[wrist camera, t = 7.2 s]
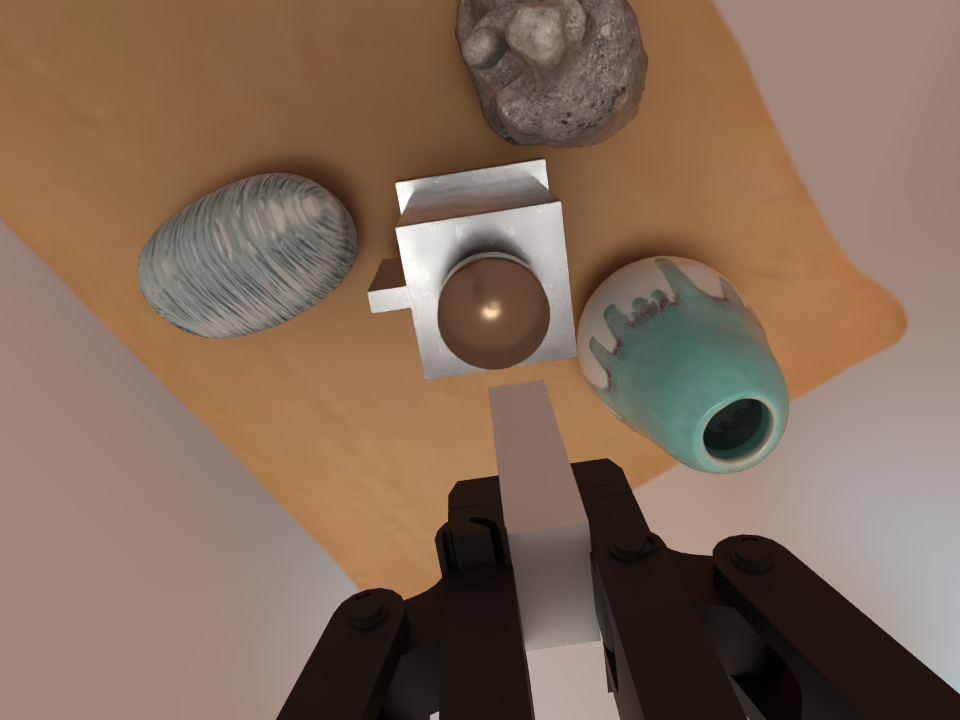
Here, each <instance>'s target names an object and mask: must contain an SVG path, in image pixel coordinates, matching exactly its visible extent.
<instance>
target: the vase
mask: <svg viewBox="0 0 960 720" xmlns="http://www.w3.org/2000/svg"><path fill="white" fill-rule="evenodd" d="M577 355H578V361H579V365H580V369H581V371H582V374H583V377H584V379H585V381H586V383H587V385H588V387H589V388H590V390H591V391H592V393H593V394H594V395H595V397H596V398H597V399H598V401H599V402H600V403H601V404H602V405H603V406H604V407H605V408H606V409H607V410H608V411H609V412H610V413H611V414H612V415H613V416H614V417H615V418H616V419H618V420H619V421H620V422H621V423H623V424H624V425H626V426H627V427H629V428H630V429H632V430H633V431H635V432H636V433H638V434H640V435H641V436H643V437H645V438H647V439H649V440H650V441H651V442H653V443H654V444H655V445H657V446H658V447H659V448H661V449H662V450H663V451H664V452H666V453H667V454H668V455H670V456H671V457H673V458H674V459H676V460H677V461H679V462H680V463H682V464H684V465H686V466H688V467H690V468H692V469H695V470H698V471H701V472H705V473H711V474H732V473H737V472H741V471H744V470H747V469H749V468H751V467H753V466H755V465H757V464H758V463H760V462H761V461H762V460H763V459H765V458H766V457H767V456H768V455H769V454H770V453H771V452H772V451H773V450H774V449H775V447H776V446H777V444H778V443H779V441H780V439H781V437H782V435H783V433H784V431H785V428H786V424H787V421H788V415H789V394H788V389H787V385H786V382H785V378H784V375H783V373H782V370H781V368H780V366H779V364H778V362H777V360H776V358H775V357H774V355H773V353H772V351H771V349H770V346H769V344H768V341H767V338H766V334H765V332H764V329H763V327H762V325H761V323H760V321H759V319H758V317H757V315H756V313H755V311H754V310H753V308H752V306H751V305H750V303H749V302H748V301H747V299H746V298H745V296H744V295H743V294H742V293H741V291H740V290H739V289H738V288H737V287H736V286H735V285H734V284H733V283H732V282H731V281H730V280H729V279H728V278H727V277H726V276H724V275H723V274H722V273H720V272H719V271H717V270H715V269H714V268H712V267H710V266H708V265H706V264H704V263H702V262H699V261H696V260H693V259H689V258H684V257H678V256H654V257H649V258H644V259H641V260H637V261H635V262H632V263H630V264H628V265H626V266H624V267H622V268H620V269H618V270H617V271H615V272H614V273H612V274H611V275H610V276H608V277H607V278H606V279H605V280H604V281H603V282H602V283H601V284H600V285H599V286H598V287H597V288H596V290H595V291H594V292H593V294H592V295H591V296H590V298H589V300H588V301H587V303H586V305H585V307H584V309H583V312H582V314H581V317H580V321H579V325H578V331H577Z"/></svg>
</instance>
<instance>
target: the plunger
mask: <svg viewBox="0 0 960 720" xmlns="http://www.w3.org/2000/svg"><path fill="white" fill-rule="evenodd" d="M437 322H438V328H439V332H440V334H441V337H442V339H443V341H444V343H445V345H446V346H447V347H448V349H449V350H450V351H451V352H452V353H453V354H454V355H455V356H456V357H457V358H459V359H460V360H462V361H463V362H465V363H467V364H469V365H471V366H474V367H477V368H481V369H491V370H496V369H504V368H508V367H511V366H514V365H517V364H519V363H521V362H523V361H524V360H526V359H527V358H529V357H530V356H531V355H532V354H533V353H534V352H535V351H536V350H537V349H538V348H539V346H540V345H541V344H542V342H543V340H544V338H545V336H546V334H547V331H548V328H549V323H550V306H549V301H548V298H547V295H546V293H545V291H544V288H543V286H542V284H541V282H540V280H539V278H538V276H537V275H536V274H535V272H534V271H533V270H532V269H531V268H530V266H528V265H527V264H526V263H525V262H523V261H522V260H520V259H519V258H517V257H514V256H512V255H509V254H506V253H500V252H484V253H479V254H476V255H473V256H470V257H468V258H466V259H464V260H463V261H461V262H460V263H458V264H457V265H456V266H455V267H454V268H453V269H452V270H451V271H450V272H449V274H448V275H447V277H446V278H445V280H444V282H443V284H442V286H441V289H440V293H439V299H438V310H437Z"/></svg>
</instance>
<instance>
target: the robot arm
mask: <svg viewBox="0 0 960 720" xmlns="http://www.w3.org/2000/svg"><path fill="white" fill-rule="evenodd" d="M488 389H489V397H490V406H491V414H492V423H493V431H494V439H495V448H496V456H497V465H498V473H499V475H498V476H491V477H485V478H478V479H471V480H464V481H457V483H456V484H455V486H454V487H453V489H452V490H451V492H450V493H449V495H448V510H449V511H448V522H446V523H445V524H444V525H443V526H442V527H441V528H440V529H439V530H438V531H437V534H436V537H435V543H436V548H437V553H438V558H439V563H440V568H441V573H442V578H441V579H440V580H439V582H438V583H437V584H436V585H434V586H433V587H431V588H430V589H429V590H427V591H425V592H423V593H421V594H419V595H417V596H414V597H412V598H409V599H406V600H404V601H403V599H402V597H401V596H400V595H399V594H397V593H396V592H394V591H393V590H388V589H383V588H377V589H368V590H365V591H362V592H359V593H357V594H354V595H352V596H351V597H350V598H348V599H347V600H345V601H344V602H342V603H341V605H340V606H339V607H338V608H337V610H336V611H335V612H334V614H333V615H332V617H331V619H330V621H329V623H328V625H327V626H326V628H325V630H324V632H323V634H322V636H321V638H320V639H319V641H318V643H317V645H316V647H315V649H314V650H313V652H312V654H311V656H310V658H309V660H308V661H307V663H306V665H305V667H304V669H303V671H302V673H301V674H300V676H299V678H298V680H297V682H296V684H295V686H294V687H293V689H292V691H291V693H290V695H289V696H288V698H287V700H286V702H285V704H284V706H283V708H282V710H281V711H280V713H279V715H278V717H277V719H276V720H430V715H431V714H434V713H436V712H438V711H439V720H535V715H534V707H533V700H532V692H531V685H530V678H529V671H528V664H527V657H526V651H529V650H535V649H542V648H550V647H557V646H564V645H572V644H579V643H585V642H593V641H600V640H601V639H600V631H601V635H602V638H603V645H604V655H605V665H606V675H607V685H608V692H613V693H614V697H615V701H616V705H617V708H618V712H619V716H620V720H748V719H749V720H960V694H959V693H958V692H956V691H955V690H954V689H953V688H952V687H951V686H949V685H948V684H947V683H946V682H945V681H943V680H942V679H941V678H940V677H938V675H936V674H935V673H934V672H933V671H932V670H930V669H929V668H928V667H927V666H926V665H924V664H923V663H922V662H921V661H920V660H918V659H917V658H916V657H915V656H913V655H912V654H911V653H910V652H909V651H908V650H907V649H905V648H904V647H903V646H902V645H901V644H899V643H898V642H897V641H896V640H895V639H893V638H892V637H891V636H890V635H889V634H887V633H886V632H885V631H884V630H883V629H882V628H880V627H879V626H878V625H877V624H876V623H874V622H873V621H872V620H871V619H870V618H868V617H867V616H866V615H865V614H864V613H862V612H861V611H860V610H859V609H858V608H856V607H855V606H854V605H853V604H852V603H850V602H849V601H848V600H847V599H846V598H845V597H843V596H842V595H841V594H840V593H839V592H837V591H836V590H835V589H834V588H833V587H832V586H830V585H829V584H828V583H827V582H826V581H824V580H823V579H822V578H821V577H820V576H818V575H817V574H816V573H815V572H814V571H812V570H811V569H810V568H809V567H808V566H806V565H805V564H804V563H803V562H802V561H800V560H799V559H798V558H797V557H796V556H795V555H793V554H792V553H791V552H790V551H788V550H787V549H786V548H785V547H784V546H782V545H780V544H778V543H777V542H775V541H774V540H771V539H768V538H765V537H761V536H757V535H744V534H742V535H737V536H731V537H728V538H726V539H724V540H722V541H720V542H718V544H717V545H716V546H715V548H714V549H713V556H706V555H694V554H687V553H681V552H678V551H674V550H671V549H669V548H667V546H666V544H665V543H664V542H663V541H662V539H661V538H660V537H659V536H658V535H656V534H654V533H652V532H650V530H649V527H648V525H647V523H646V521H645V519H644V516H643V514H642V512H641V510H640V508H639V505H638V503H637V501H636V499H635V496H634V495H633V492H632V490H631V488H630V485H629V484H628V481H627V479H626V477H625V474H624V472H623V470H622V468H621V467H619V466H618V465H616V464H615V463H614V462H612V461H611V460H609V459H608V458H605V459H598V460H591V461H584V462H578V463H571V464H570V462H569V459H568V456H567V453H566V449H565V446H564V443H563V440H562V437H561V434H560V431H559V427H558V424H557V421H556V418H555V415H554V412H553V409H552V405H551V402H550V399H549V396H548V393H547V390H546V386H545V383H544V380H539V381H532V382H526V383H519V384H512V385H505V386H498V387H492V388H488ZM599 627H600V629H599ZM746 716H747V717H748V719H747V717H746Z"/></svg>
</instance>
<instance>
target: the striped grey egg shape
mask: <svg viewBox="0 0 960 720" xmlns="http://www.w3.org/2000/svg"><path fill="white" fill-rule="evenodd" d="M356 255H357V232H356V229H355V225H354V222H353V220H352V218H351V216H350V214H349V212H348V211H347V209H346V208H345V207H344V206H343V205H342V203H341V202H340V201H339V200H338V199H337V198H336V197H335V196H334V195H333V194H332V193H331V192H330V191H328V190H327V189H325V188H324V187H322V186H321V185H319V184H318V183H317V182H315V181H312V180H310V179H308V178H305V177H303V176H299V175H294V174H287V173H267V174H261V175H256V176H251V177H247V178H244V179H242V180H239V181H236V182H233V183H230V184H227V185H225V186H223V187H221V188H219V189H217V190H215V191H214V192H212V193H209V194H207V195H205V196H203V197H201V198H199V199H198V200H196V201H195V202H193V203H192V204H190V205H188V206H187V207H185V208H183V209H182V210H180V211H179V212H178V213H177V214H175V215H174V216H173V217H171V218H170V219H169V220H167V221H166V222H164V223H163V224H162V225H161V226H160V227H159V228H158V229H157V230H156V231H155V233H154V234H153V235H152V236H151V237H150V239H149V240H148V241H147V243H146V244H145V245H144V247H143V249H142V252H141V254H140V258H139V264H138V279H139V283H140V287H141V290H142V293H143V295H144V297H145V299H146V301H147V302H148V303H149V305H150V306H151V307H152V308H153V309H154V310H155V311H156V312H157V313H158V314H159V315H160V316H161V317H162V318H164V319H165V320H167V321H168V322H170V323H171V324H173V325H174V326H176V327H177V328H179V329H181V330H183V331H186V332H188V333H192V334H195V335H199V336H202V337H206V338H235V337H240V336H245V335H249V334H252V333H255V332H258V331H261V330H264V329H267V328H270V327H274V326H277V325H279V324H281V323H284V322H286V321H288V320H290V319H292V318H294V317H295V316H297V315H299V314H301V313H303V312H304V311H306V310H307V309H309V308H311V307H313V306H314V305H316V304H317V303H319V302H320V301H321V300H322V299H324V298H325V297H326V296H327V295H329V294H330V293H331V292H332V291H333V290H334V289H335V288H337V286H338V285H339V284H340V283H341V282H342V281H343V279H344V277H345V276H346V275H347V273H348V272H349V270H350V269H351V268H352V266H353V263H354V261H355V258H356Z"/></svg>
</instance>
